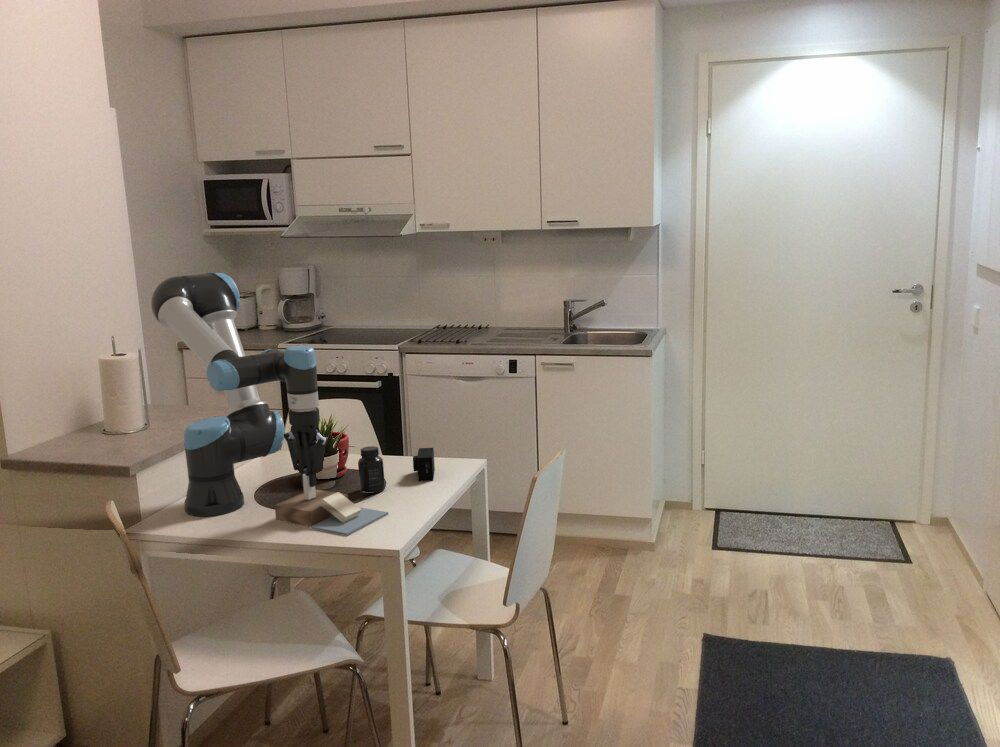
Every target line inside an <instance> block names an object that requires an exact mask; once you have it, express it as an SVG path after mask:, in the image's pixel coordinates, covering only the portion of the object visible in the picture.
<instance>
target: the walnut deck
mask: <svg viewBox="0 0 1000 747" xmlns="http://www.w3.org/2000/svg"><path fill="white" fill-rule="evenodd" d="M315 491H316V497H314V498H312V499H310V500H307V499H304V492H302V493H299V494H298V495H295V496H292V497H289V498H288V499H285V500H283V501H281V502H279V503H276V504H274V511H275V521H279V522H283V523H288V524H294V525H297V526H298V525H299V526H303V527H304V526H305V527H310V528H311V526H313V525H315V524H317V523H319V522H321V521H323V520H325V519H327V518H329V517H331V516H333V515H332V514H331V513H330V512H328V511H327V510H326V509H324V508H323V507H322V506H321V502H322V499H324V498H326V497H328V496H330V495H332V494H335V493H336V491H335V492H334V491H328V490H321V489H318V488H317V489H316V488H315ZM341 494H342V495H343V496H345V497H346V498H347V499H349V495H348V494H346V493H341Z"/></svg>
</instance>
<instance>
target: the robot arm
mask: <svg viewBox="0 0 1000 747" xmlns="http://www.w3.org/2000/svg"><path fill="white" fill-rule="evenodd" d="M238 288H239V287H238V286H237V284H236V282H235V281H234V279H233V278H232V277H231V276H230V275H229V274H228V275H227V274H226V273H224V272H206V273H200V274H199V273H197V274H190V275H177V276H171V277H168V278H166V279H164V280H162V281H161V282H160V283H159V284H158V285H157V286H156V288H155V289H154V291H153V293H152V296H151V300H150V305H151V311H152V313H153V314H152V315H153V316H154V318H155V319H156V320H157V321H158V323H160V324H161V326H162V327H163V328H166V329H168V330H171V331H172V332H173V333H174V334H175V335H176V336H177V337H178V338H179V339H180V341H182V342H183V343H184V345H186V346H187V348H188V349H189V350H190V351H191V352H192V353H193V354H194V355H195V356H196V357H197V358H198V359H199V360H200V361H201V362H202V364H204V365H205V367H206V377H207V381H208V383H209V385H210V387H211V389H212V390H214V391H215V392H223V394H224V397H225V400H226V403H227V406H228V408H229V410H228V412H227V413H226V415H225V416H222V415H219V416H217V415H216V416H212V417H206V418H203V419H202V418H201V419H199V420H197V421H194V422H191V423H190V424H189V425H188V426H187V427H186V428H185V429H184V432H183V438H184V439H183V447H184V451H185V459H186V470H187V475H188V476H187V477H188V478H187V479H188V484H187V485H188V486H187V488H186V489H187V490H186V496H185V499H184V502H183V504H184V512H185V513H186V514H188V515H190V516H195V517H211V516H219V515H223V514H227V513H230V512H233V511H236V510H238V509H240V508H241V507H244V505H245V498H244V496H245V495H244V493H243V491H242V488H241V487H240V485H239V482H238V480H237V478H236V474H235V464H239V463H242V462H246V461H251V460H253V459H258V458H261V457H262V458H264V457H265V458H266V457H267V456H269V455H272V454H275V453H277V452H279V450H281V449H282V447H283V444H284V440H285V441H286V444H287V448H288V451H289V455H290V458H291V462H292V467H293V470H294V471H297V472H299V474H300V481H301V482H300V484H301V485H302V486H303V488H302V489H303V493H304V499H307V500H310V499H312V498H314V497H316V491H315V489H316V486H317V481H318V479H316V473H318V472H320V471H322V469H323V461H324V454H325V446H326V443H327V441H328V437H327V436H326V437H323V436H322V435H321V434H320V432H321V429H320V428H319V423H320V420H321V418H320V417H321V416H320V408H319V406H320V401H319V390H318V389H319V388H318V375H317V374H318V373H317V360H316V352H315V349H314V348H313V347H312V346H310V345H294V346H289V347H286V348H285V349H284V350H281V349H277V348H273V349H272V348H269V349H266V350H263V351H261V353H256V354H250V355H246V354H245V350H244V347H243V344H242V342H241V338H240V335H239V332H238V328H237V327H236V323H235V319H236V317H237V316H238V313H237V311H238V309H239V308H240V305H241V299H240V298H241V296H240V292H239V289H238ZM277 381H279V382H284V383H285V384H286V385H285V386H286V393H287V396H286V397H287V407H288V409H289V410H288V421H289V425H291V426H290V430H289V431H288V432H285V424H284V419H283V418H282V416H281V414H279V412H278V411H276V410H271V409H270V407H269V403H268V402H267V401H264V400H261V397H260V395H259V392H258V388H257V386H258V385H262V384H267V383H272V382H277ZM316 440H317V441H316Z"/></svg>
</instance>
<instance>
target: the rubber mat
mask: <svg viewBox="0 0 1000 747" xmlns="http://www.w3.org/2000/svg"><path fill="white" fill-rule="evenodd" d="M358 507H359V506H358ZM359 508H360V509H361V512H360V515H359V516H357V517H355V518H353V519H351V520H349V521H347V522H345V523H342V522H341V521H340V520H339V519H337V518H336V517H335V516H331V517H329V518H327V519H325V520H323V521H321V522H319V523H317V524H315V525H313V526H311V527H310V529H311V530H316V531H321V532H325V533H326V532H327V533H331V534H337V535H340V536H341V535H342V536H346V537H348V536H350V535H352V534H355V533H356V532H358V531H360V530H362V529H363V528H365V527H368V526H369V525H371V524H373V523H375V522H377V521H379V520H381V519H383V518H385V517H386V516H388V515H389V511H383V510H377V509H372V508H365V507H359Z"/></svg>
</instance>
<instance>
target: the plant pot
mask: <svg viewBox="0 0 1000 747" xmlns="http://www.w3.org/2000/svg"><path fill="white" fill-rule="evenodd" d="M331 432H332V436H333V438H335V437H336V436H337V435H339V434H340V433H343V434H342V437H341V439H340V441H339V443H338V449H339V462H338V469H337V478H340V477H342V476H344V475H345V474H346V472H347V469H348V467H347V465H346V464H347V461H348V459H349V458H348V457H349V450H350V448H349V447H350V446H349V445H350V440H349V438H350V437H349V435H348V434H347V433H344V432H340V431H331Z"/></svg>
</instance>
